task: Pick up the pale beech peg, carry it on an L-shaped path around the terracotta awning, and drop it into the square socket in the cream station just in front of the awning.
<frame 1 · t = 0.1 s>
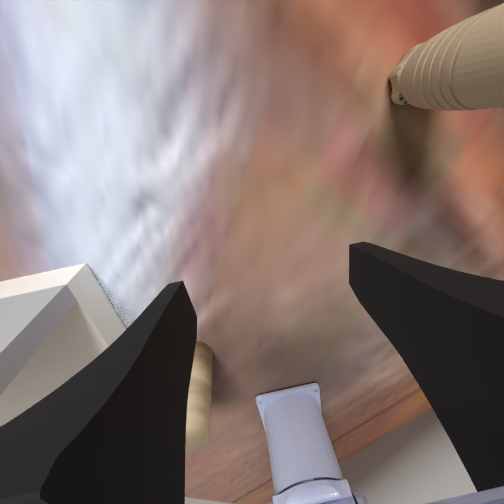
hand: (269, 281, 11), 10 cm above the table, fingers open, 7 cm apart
station: (50, 379, 26), on the table
handle: (406, 79, 17), on the table
peg: (193, 354, 26), on the table
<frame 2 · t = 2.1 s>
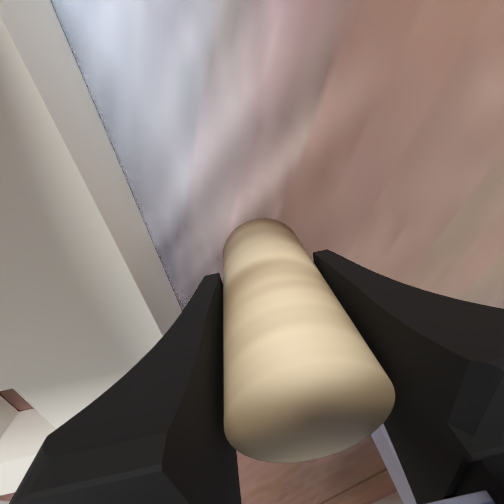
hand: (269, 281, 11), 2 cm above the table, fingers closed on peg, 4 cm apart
peg: (261, 255, 13), on the table, touching gripper
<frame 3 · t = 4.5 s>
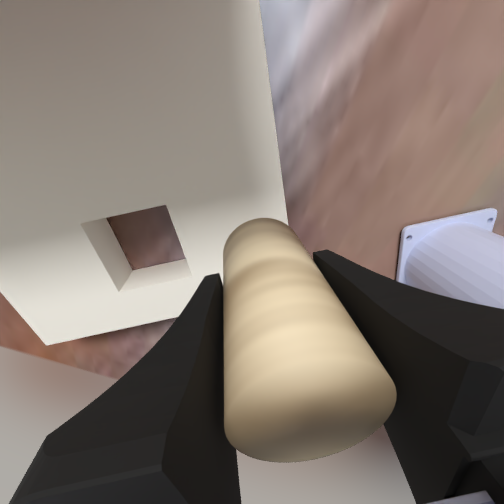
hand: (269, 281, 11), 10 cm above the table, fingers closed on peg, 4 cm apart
station: (117, 152, 16), on the table
peg: (262, 254, 13), point 7 cm above the table, touching gripper
when the fingers open (4 cm above the table, at t = 6.8 s): peg drops 2 cm, resting in station.
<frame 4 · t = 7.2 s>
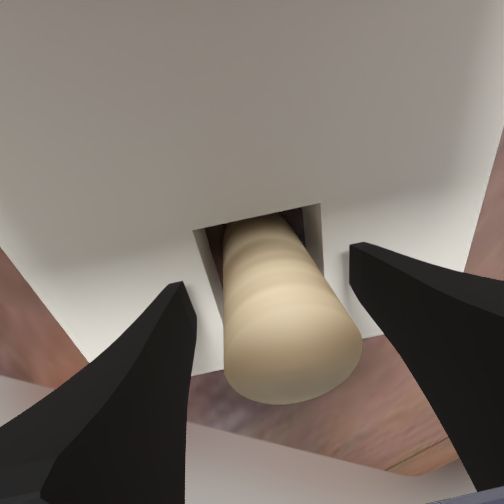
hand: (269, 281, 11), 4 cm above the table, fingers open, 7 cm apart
station: (235, 126, 11), on the table
peg: (258, 241, 14), resting in station
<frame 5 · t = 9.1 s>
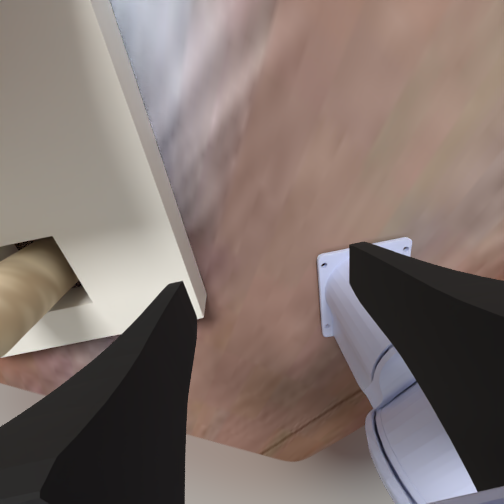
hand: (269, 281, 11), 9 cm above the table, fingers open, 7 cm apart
station: (15, 182, 17), on the table
peg: (62, 258, 19), resting in station
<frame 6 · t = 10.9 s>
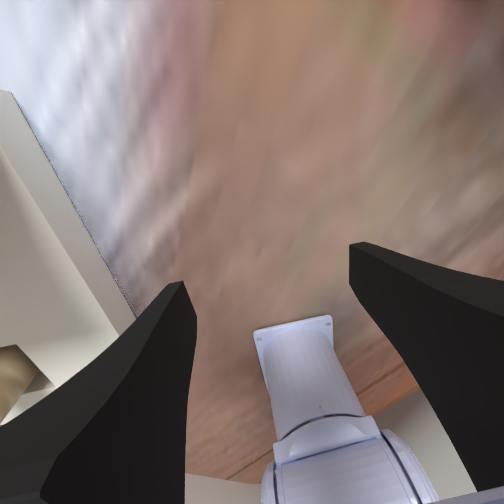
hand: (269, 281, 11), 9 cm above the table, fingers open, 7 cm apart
peg: (30, 343, 23), resting in station
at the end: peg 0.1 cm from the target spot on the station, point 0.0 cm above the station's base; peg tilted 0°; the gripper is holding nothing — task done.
